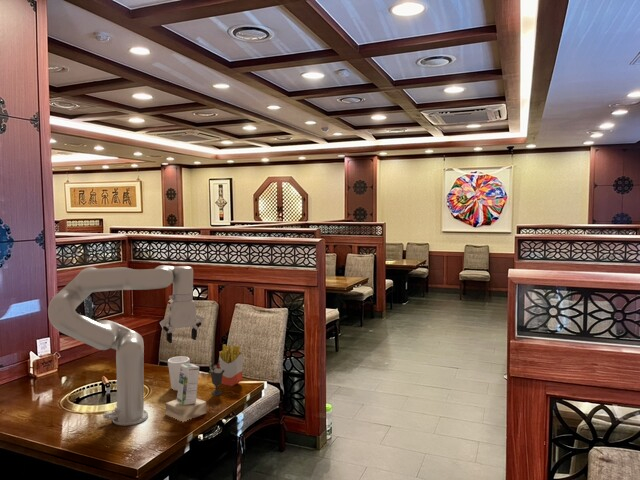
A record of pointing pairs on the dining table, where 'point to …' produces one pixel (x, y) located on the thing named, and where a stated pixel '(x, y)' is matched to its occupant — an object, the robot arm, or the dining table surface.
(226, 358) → the french fries container
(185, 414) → the riser block
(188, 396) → the syrup box
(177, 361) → the foam cup
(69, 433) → the dining table surface
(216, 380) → the sundae
